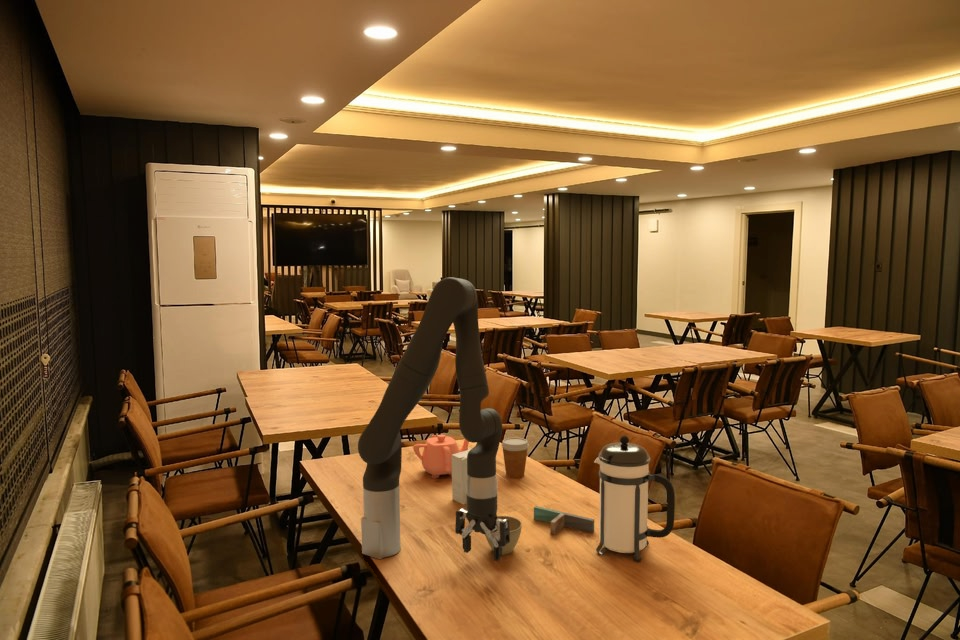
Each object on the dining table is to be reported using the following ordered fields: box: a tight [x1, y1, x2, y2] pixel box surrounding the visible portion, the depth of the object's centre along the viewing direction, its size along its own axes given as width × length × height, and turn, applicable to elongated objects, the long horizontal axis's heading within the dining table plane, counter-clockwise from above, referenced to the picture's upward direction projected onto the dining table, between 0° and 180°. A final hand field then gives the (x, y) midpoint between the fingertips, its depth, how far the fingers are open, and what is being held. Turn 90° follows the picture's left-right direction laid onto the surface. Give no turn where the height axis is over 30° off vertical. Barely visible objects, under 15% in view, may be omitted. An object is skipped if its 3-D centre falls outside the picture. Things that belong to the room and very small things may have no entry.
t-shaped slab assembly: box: [533, 505, 595, 536], centre depth 176 cm, size 8×18×4 cm, turn 58°
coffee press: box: [593, 435, 676, 562], centre depth 162 cm, size 17×16×30 cm
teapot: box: [412, 434, 470, 479], centre depth 222 cm, size 16×17×14 cm
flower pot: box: [484, 515, 523, 555], centre depth 164 cm, size 10×10×7 cm
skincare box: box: [451, 448, 472, 505], centre depth 198 cm, size 8×6×15 cm
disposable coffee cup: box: [501, 437, 530, 479], centre depth 219 cm, size 10×10×12 cm
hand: (482, 555), depth 156 cm, fingers open, 8 cm apart
